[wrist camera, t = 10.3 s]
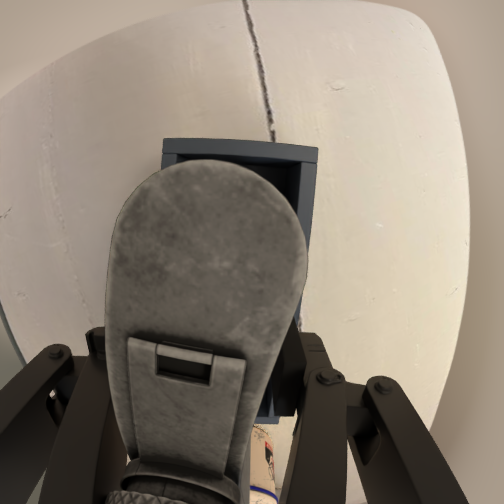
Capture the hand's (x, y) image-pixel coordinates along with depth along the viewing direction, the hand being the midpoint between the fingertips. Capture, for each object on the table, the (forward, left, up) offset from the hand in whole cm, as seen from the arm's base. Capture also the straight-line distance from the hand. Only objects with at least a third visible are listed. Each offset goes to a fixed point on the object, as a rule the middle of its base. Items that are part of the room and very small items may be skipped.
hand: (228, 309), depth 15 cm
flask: (0, 0, -6) cm, 6 cm away
